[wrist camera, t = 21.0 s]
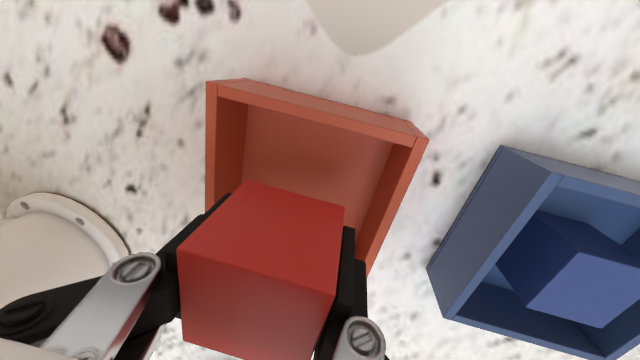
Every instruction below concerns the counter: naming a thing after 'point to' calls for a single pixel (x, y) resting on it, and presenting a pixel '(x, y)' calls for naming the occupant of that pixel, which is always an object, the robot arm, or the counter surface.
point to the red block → (261, 274)
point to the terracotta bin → (311, 153)
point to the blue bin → (501, 229)
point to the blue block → (571, 270)
